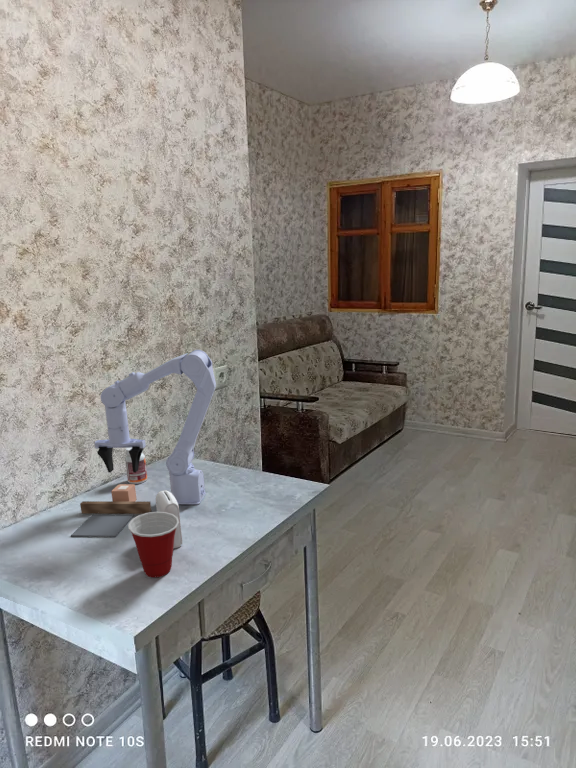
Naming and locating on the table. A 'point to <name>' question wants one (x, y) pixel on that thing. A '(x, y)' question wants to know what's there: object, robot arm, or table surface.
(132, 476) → the pill bottle
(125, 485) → the marked cube
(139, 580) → the table surface
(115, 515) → the slate mat
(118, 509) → the walnut board
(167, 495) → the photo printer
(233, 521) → the table surface
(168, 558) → the plastic cup
